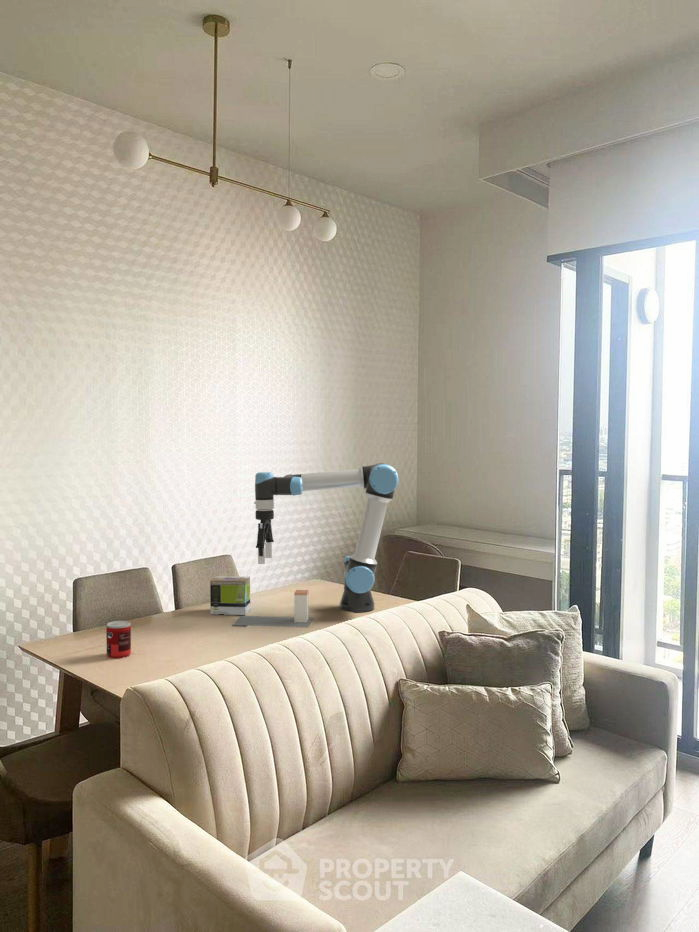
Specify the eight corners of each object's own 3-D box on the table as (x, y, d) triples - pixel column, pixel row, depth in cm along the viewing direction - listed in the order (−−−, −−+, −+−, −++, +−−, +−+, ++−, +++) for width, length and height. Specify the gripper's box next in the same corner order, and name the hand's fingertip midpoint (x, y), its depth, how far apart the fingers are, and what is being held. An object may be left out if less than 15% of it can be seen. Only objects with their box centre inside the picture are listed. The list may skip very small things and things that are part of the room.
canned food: (109, 652, 249) (109, 620, 249) (133, 651, 250) (132, 620, 249) (103, 659, 242) (103, 626, 241) (128, 658, 242) (128, 626, 242)
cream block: (308, 619, 293) (308, 590, 292) (306, 622, 288) (306, 592, 287) (296, 618, 293) (296, 589, 292) (294, 622, 288) (294, 592, 288)
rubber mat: (312, 619, 295) (312, 617, 295) (308, 628, 281) (308, 627, 281) (240, 616, 297) (240, 615, 297) (232, 626, 283) (232, 624, 283)
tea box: (250, 610, 309) (250, 576, 308) (245, 616, 299) (245, 580, 298) (216, 608, 310) (216, 575, 310) (209, 614, 300) (209, 579, 300)
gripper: (262, 506, 309) (262, 555, 310) (248, 513, 284) (249, 566, 285) (279, 506, 308) (279, 555, 309) (267, 513, 284) (267, 566, 285)
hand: (265, 560), depth 297 cm, fingers open, 13 cm apart
